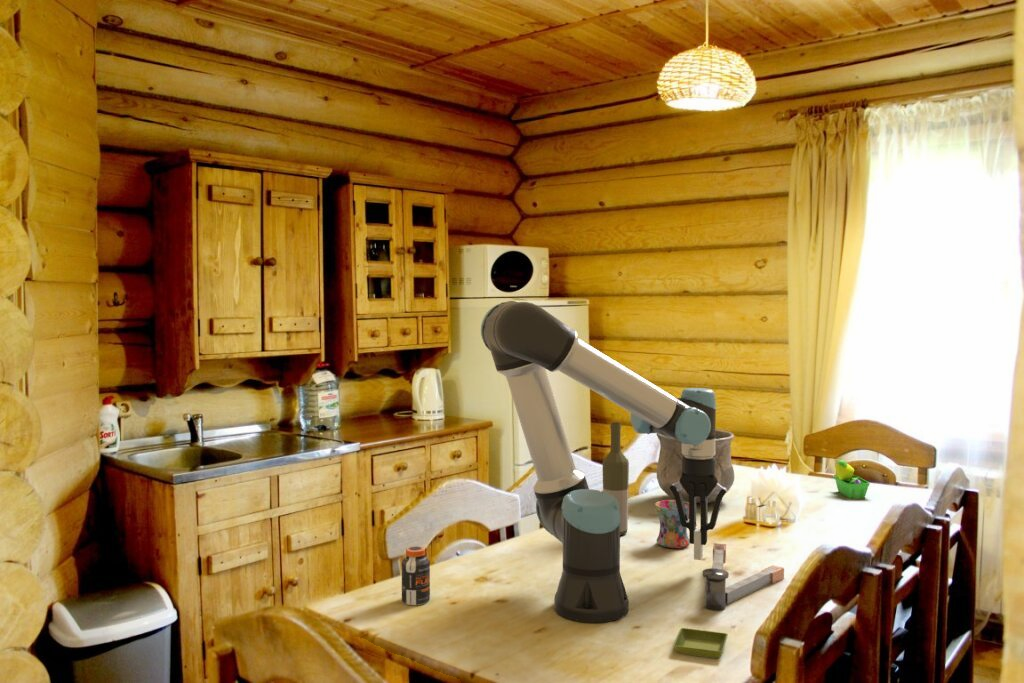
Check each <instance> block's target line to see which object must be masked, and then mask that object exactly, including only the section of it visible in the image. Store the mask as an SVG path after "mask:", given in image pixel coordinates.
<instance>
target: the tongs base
mask: <svg viewBox="0 0 1024 683" xmlns="http://www.w3.org/2000/svg"><path fill="white" fill-rule="evenodd" d="M702 576H703V577H704V578H705V586H704V587H705V590H704V591H705V593H704V594H705V595H704V597H705V599H704V600H705V601H704V602H705V605H704V607H705V608H706V609H708V610H709V611H710V610H711V611H716V612H717V611H724V610H725V609H726V605H729V604H731V603H734V602H735V601H737V600H740V599H741V598H744V597H745V596H749V595H750V594H752V593H754V592H756V591H759V590H760V589H762V588H766V587H767V586H768V585H771V584H776V583H778V582H779V581H781V580H783V579H785V568H784V567H781V566H778V565H773V564H772V565H770V566H768V567H766V568H763V569H761V571H758V572H757V573H755V574H752V575H750V576H749V577H746V578H744V579H742V580H740V581H738V582H735V583H733V584H730V585H728V586H727V587H726V580H727V579H728V578H729V577H730V576H729V572H728V571H727V570H725V569H723V570H722V569H715V568H712V567H711V568H705V569H703V570H702Z"/></svg>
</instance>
